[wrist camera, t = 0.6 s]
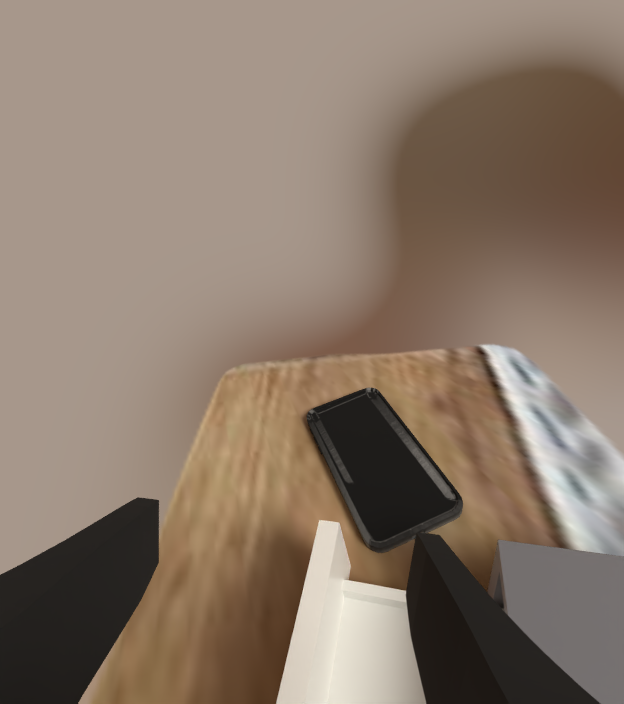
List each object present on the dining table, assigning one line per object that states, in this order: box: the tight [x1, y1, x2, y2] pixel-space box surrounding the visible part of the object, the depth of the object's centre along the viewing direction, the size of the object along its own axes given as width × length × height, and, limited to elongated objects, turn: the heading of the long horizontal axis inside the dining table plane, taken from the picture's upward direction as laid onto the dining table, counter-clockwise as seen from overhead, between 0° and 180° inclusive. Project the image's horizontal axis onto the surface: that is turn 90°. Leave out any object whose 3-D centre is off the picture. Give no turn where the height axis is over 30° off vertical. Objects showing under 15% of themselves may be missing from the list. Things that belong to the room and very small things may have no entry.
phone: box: [307, 388, 463, 553], centre depth 33 cm, size 8×1×15 cm
